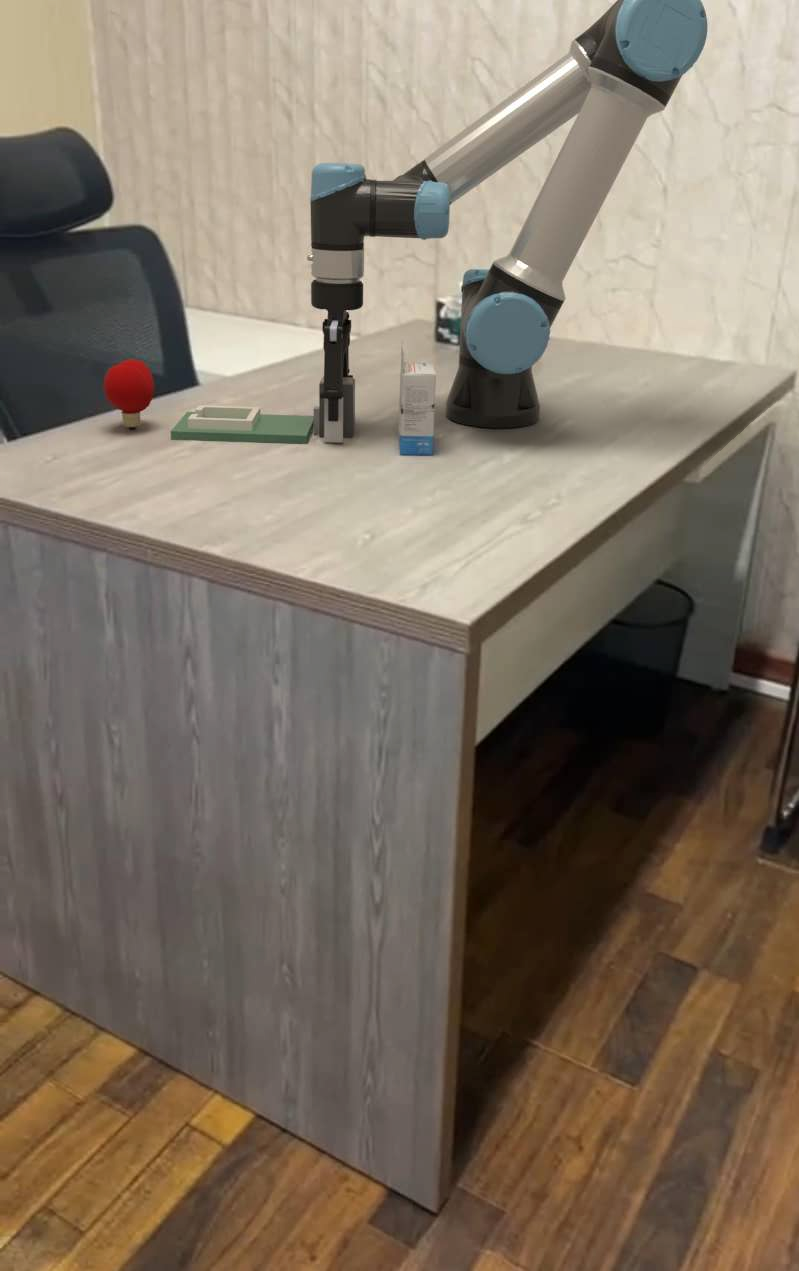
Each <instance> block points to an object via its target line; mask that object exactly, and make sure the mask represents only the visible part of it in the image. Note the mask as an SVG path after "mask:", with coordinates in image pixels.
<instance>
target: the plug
mask: <svg viewBox="0 0 799 1271" xmlns="http://www.w3.org/2000/svg"><path fill="white" fill-rule="evenodd" d="M318 385H319V386H318V387H319V390H318V394H319V393H323V390H324V375H323V376H322V378H321V379H320V382H319V384H318ZM329 389H337V388H333V387H330V388H329ZM342 393H343V397H342V398H343V439H353V438H354V434H355V432H356V431H355V428H356V426H355V425H356V422H355V420H356V413H355V412H356V379H355V378H354V376H353V377H343V383H342ZM318 400H319V404H318V405H317V406H316V405H315V406H313V416H314V427H313V435H314V436H319V438H324V399H323V398H320V397H319V398H318Z"/></svg>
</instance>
